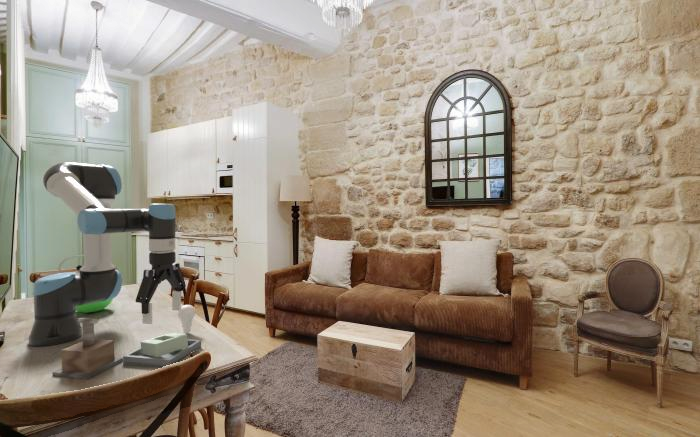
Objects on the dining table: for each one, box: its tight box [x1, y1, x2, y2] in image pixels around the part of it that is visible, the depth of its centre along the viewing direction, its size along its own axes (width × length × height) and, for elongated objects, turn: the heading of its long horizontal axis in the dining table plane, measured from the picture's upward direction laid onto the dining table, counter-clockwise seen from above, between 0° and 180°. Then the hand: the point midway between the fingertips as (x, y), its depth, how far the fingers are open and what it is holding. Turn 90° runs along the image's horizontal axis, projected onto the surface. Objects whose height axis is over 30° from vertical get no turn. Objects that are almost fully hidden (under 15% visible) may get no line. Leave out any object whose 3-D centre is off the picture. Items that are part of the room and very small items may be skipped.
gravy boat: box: [76, 298, 114, 314], centre depth 162 cm, size 18×17×15 cm
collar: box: [140, 332, 188, 357], centre depth 115 cm, size 10×10×4 cm
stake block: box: [52, 317, 123, 380], centre depth 106 cm, size 12×12×15 cm
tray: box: [122, 338, 202, 369], centre depth 115 cm, size 16×16×2 cm
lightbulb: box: [177, 304, 196, 335], centre depth 135 cm, size 6×6×11 cm
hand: (162, 316), depth 115 cm, fingers open, 13 cm apart
